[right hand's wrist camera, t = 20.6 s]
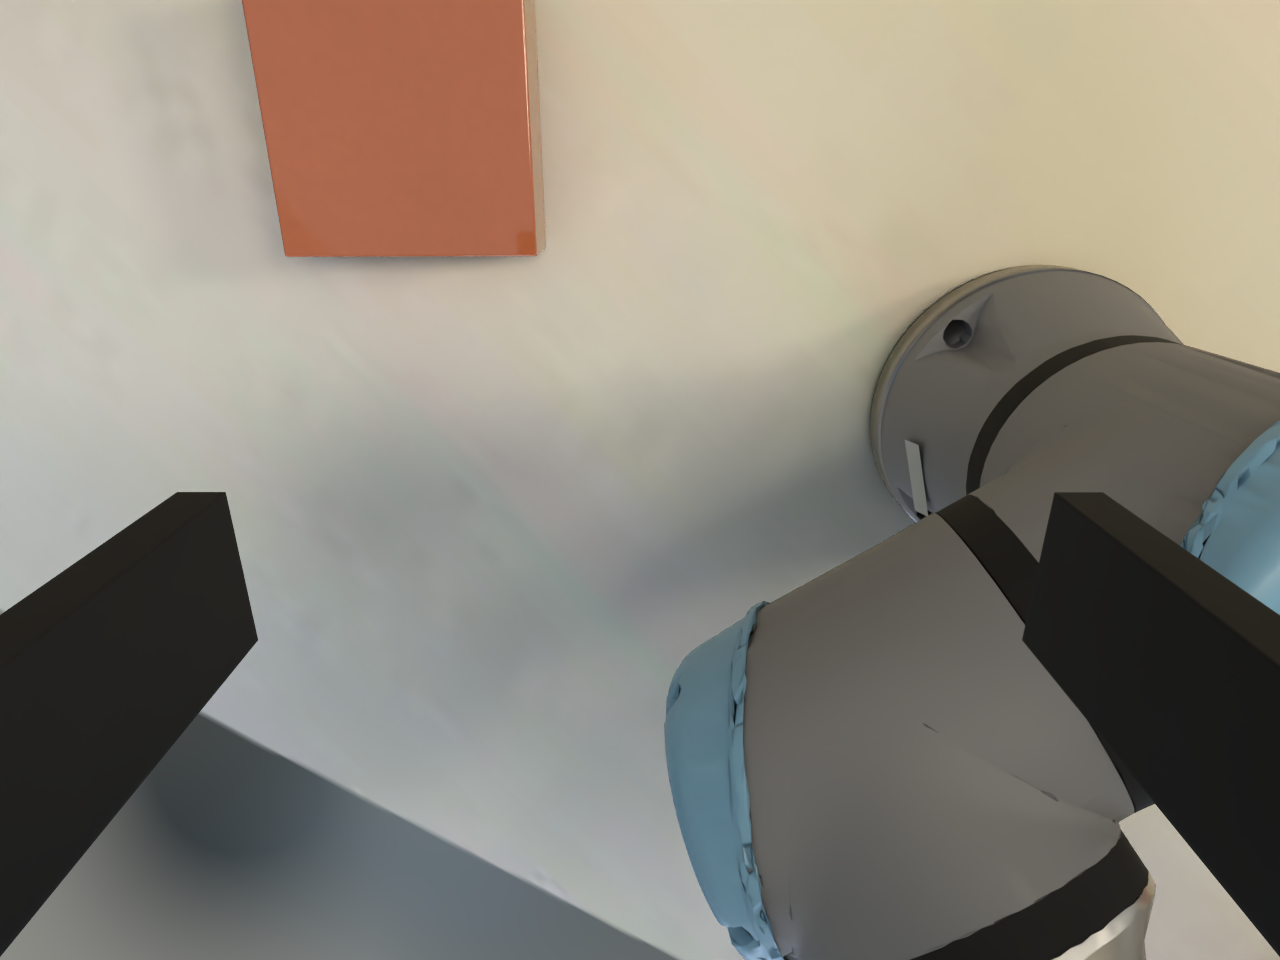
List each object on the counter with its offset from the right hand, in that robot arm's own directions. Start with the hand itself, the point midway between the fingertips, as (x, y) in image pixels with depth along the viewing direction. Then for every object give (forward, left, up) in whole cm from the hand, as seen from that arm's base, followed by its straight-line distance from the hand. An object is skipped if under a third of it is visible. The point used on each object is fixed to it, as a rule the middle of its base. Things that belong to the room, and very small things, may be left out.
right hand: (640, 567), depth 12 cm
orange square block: (+10, -8, -29) cm, 31 cm away
